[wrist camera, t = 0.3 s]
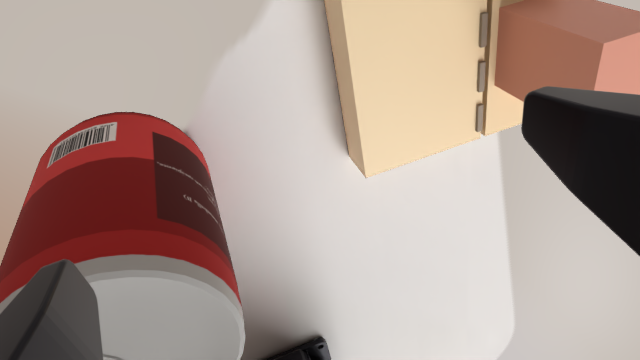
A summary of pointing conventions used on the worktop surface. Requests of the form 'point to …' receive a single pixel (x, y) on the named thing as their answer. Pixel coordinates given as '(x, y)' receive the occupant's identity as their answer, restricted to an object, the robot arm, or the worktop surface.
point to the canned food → (133, 238)
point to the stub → (555, 52)
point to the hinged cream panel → (408, 76)
